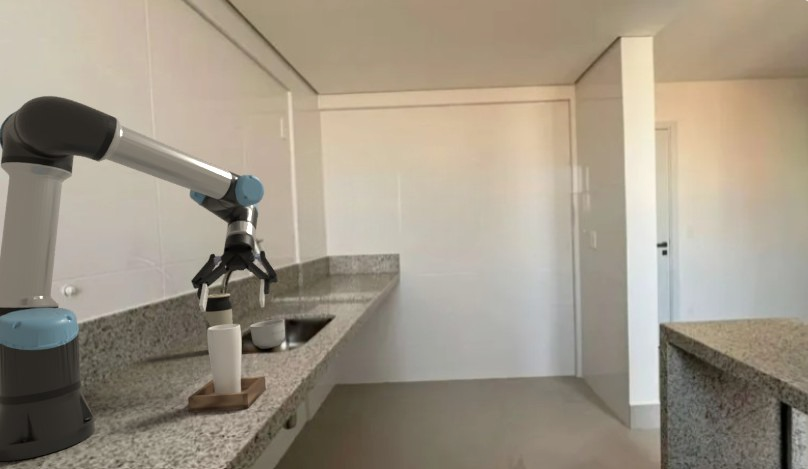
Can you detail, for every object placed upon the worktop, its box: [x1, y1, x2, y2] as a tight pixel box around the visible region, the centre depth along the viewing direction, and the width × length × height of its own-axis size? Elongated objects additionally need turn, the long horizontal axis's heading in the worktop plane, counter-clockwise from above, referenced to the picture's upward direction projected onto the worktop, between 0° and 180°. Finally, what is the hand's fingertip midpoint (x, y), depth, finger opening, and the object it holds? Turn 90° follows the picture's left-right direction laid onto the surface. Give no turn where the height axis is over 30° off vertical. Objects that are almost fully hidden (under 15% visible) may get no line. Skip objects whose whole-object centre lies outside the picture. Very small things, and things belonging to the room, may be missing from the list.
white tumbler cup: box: [206, 323, 243, 394], centre depth 101 cm, size 7×7×15 cm
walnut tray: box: [187, 375, 267, 413], centre depth 101 cm, size 12×12×3 cm
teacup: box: [249, 319, 286, 350], centre depth 156 cm, size 14×11×8 cm
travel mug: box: [205, 293, 234, 353], centre depth 153 cm, size 8×8×18 cm
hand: (232, 306), depth 112 cm, fingers open, 13 cm apart
